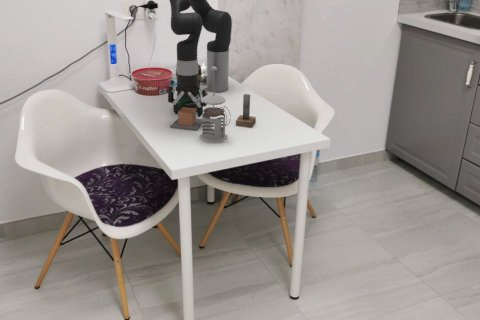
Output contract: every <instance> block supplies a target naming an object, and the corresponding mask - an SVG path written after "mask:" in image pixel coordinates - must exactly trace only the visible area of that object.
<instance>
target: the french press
mask: <svg viewBox="0 0 480 320" xmlns="http://www.w3.org/2000/svg"><path fill="white" fill-rule="evenodd" d="M211 70H212V71H216V70H217V68H216V67H214V66H213V67H212V68H211ZM226 100H227V99H226V98H225V97H224V96H222V95H220V94H217V93H216V94H215V92H214V90H213V92H212V93H211V94H208V95H207V96H205V97H203V98H202V97H201V101H202V102H203V103H205V104H207V105H210V106H212V107H210V106H208V107H206V108H203V114H202V115H201V119H202V125H201V129H202V130H201V132H202V133H201V134H200V135H199V137H198V138H199V139H200V140H201V141H202V142H205V143H210V144H216V143H217V144H218V143H223V142H226V140H228V137H229V136H228V135H227V134H226V127H227V126H228V125H230V122H231V119H229V122H228V114H229V116H231V112H230V109H229V108H228V107H227V106H226V105H223V107H222V106H220V107H217V106H218V105H222V104H224V103H225V102H226ZM215 105H216V106H215ZM225 108H226V109H227V111H228V114H227V112H226V110H225ZM215 117H216V118H215Z"/></svg>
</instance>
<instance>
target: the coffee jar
mask: <svg viewBox="0 0 480 320" xmlns="http://www.w3.org/2000/svg"><path fill="white" fill-rule="evenodd" d="M198 69H199V71H198V87H199V89H201V86H200V85H201V78H202V76H203V75H202V67H201V65H200V64H199V63H198ZM175 77H176V78H177V68H175ZM178 95H179V94H178V92H177V91H176V97H177V96H178ZM198 96H199V97H200V100H201V101H202V95H201V93H200V92H199V93H198ZM178 103H179V111H180V110H181V109H182V108H183V107H186V108H194V109H196V114H198V109H197V108H198V106H197V104H196V103H194V101H193V100H187V99H186V100H183V99H182V98H181V99H180V100H179V101H178Z"/></svg>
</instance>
